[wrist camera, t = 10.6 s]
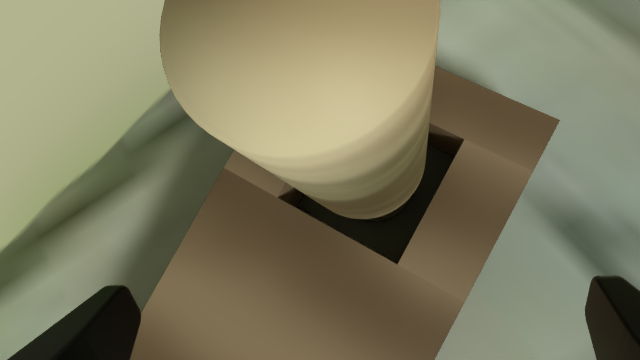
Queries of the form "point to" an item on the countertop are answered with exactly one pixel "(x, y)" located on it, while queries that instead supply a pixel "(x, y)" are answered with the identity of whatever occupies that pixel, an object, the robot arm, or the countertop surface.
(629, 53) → the countertop surface
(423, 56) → the ash peg
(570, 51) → the countertop surface
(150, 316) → the walnut board
